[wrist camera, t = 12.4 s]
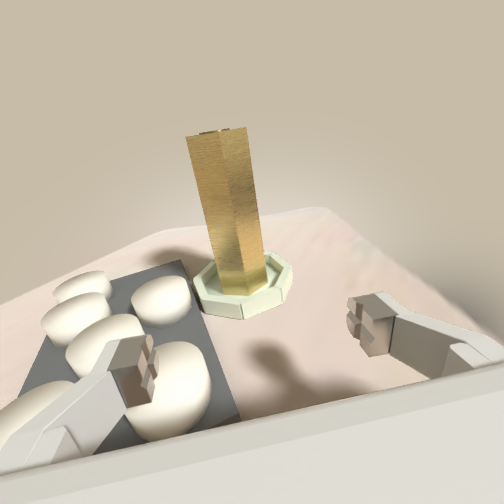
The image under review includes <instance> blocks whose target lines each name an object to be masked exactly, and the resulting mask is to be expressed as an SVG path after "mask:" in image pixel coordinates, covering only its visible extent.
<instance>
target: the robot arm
mask: <svg viewBox="0 0 504 504" xmlns="http://www.w3.org/2000/svg"><path fill="white" fill-rule="evenodd" d="M347 307H348V308H349V309H350V311H349V313H348V314H347V326H348V329H349V331H350V333H351V334H352V336H353V337H354V338H356V339H358V340H360V346H361V348H362V349H363V350H364V351H365V353H366V354H367V355H368V357H373V356H379V355H384V354H390V355H391V356H393V357H394V358H396V359H398V360H399V361H401V362H403V363H405V364H406V365H408V366H410V367H411V368H413V369H415V370H416V371H418V372H420V373H421V374H423V375H425V376H427V377H428V378H430V380H426V381H421V382H417V383H412V384H408V385H403V386H399V387H394V388H390V389H386V390H381V391H377V392H372V393H368V394H363V395H359V396H354V397H350V398H346V399H341V400H337V401H332V402H328V403H323V404H319V405H314V406H310V407H306V408H301V409H297V410H292V411H288V412H283V413H279V414H274V415H270V416H265V417H261V418H257V419H252V420H248V421H243V422H239V423H234V424H230V425H226V426H221V427H217V428H212V429H208V430H204V431H199V432H195V433H190V434H186V435H181V436H177V437H173V438H168V439H164V440H159V441H155V442H150V443H146V444H141V445H137V446H132V447H128V448H124V449H119V450H115V451H110V452H106V453H101V454H97V455H93V453H94V452H95V451H96V449H97V448H98V447H99V446H100V444H101V443H102V442H103V440H104V439H105V438H106V436H107V435H108V434H109V433H110V431H111V430H112V429H113V427H114V426H115V425H116V424H117V422H118V421H119V420H120V418H121V417H122V416H123V414H124V413H125V412H126V411H127V408H131V407H135V406H139V405H144V404H148V403H152V398H153V394H154V390H155V384H154V380H155V378H156V377H157V376H158V372H159V358H158V354H157V351H156V350H155V349H153V348H152V347H153V343H154V341H153V339H152V336H151V335H150V334H146V335H140V336H133V337H127V338H123V339H116V340H110V341H108V342H107V343H106V344H105V346H104V348H103V350H102V352H101V354H100V356H99V357H98V359H97V361H96V363H95V365H94V367H93V369H92V371H91V373H90V374H89V375H86V376H84V377H83V378H81V379H80V380H79V381H78V382H76V383H75V384H74V385H73V386H71V387H70V388H69V389H68V390H67V391H65V392H64V393H63V394H62V395H60V396H59V397H58V398H57V399H55V400H54V401H53V402H52V403H50V404H49V405H48V406H47V407H45V408H44V409H43V410H42V411H40V412H39V413H38V414H37V415H36V416H34V417H33V418H32V419H31V420H29V421H28V422H27V423H26V424H24V425H23V426H22V427H21V428H19V429H18V430H17V431H16V432H14V433H13V434H12V435H11V436H10V437H9V438H8V440H7V441H6V442H5V444H4V445H3V447H2V448H1V450H0V504H504V347H503V346H502V345H500V344H499V343H497V342H496V341H494V340H493V339H491V338H490V337H489V336H486V335H483V334H480V333H477V332H474V331H471V330H468V329H465V328H462V327H459V326H456V325H453V324H450V323H447V322H443V321H440V320H437V319H434V318H431V317H428V316H425V315H422V314H419V313H416V312H413V313H411V312H410V311H409V310H407V309H406V308H405V307H404V306H402V305H401V304H400V303H399V302H397V301H396V300H395V299H394V298H392V297H391V296H390V295H389V294H388V293H386V292H384V291H381V292H376V293H371V294H368V295H363V296H358V297H352V298H349V299H348V302H347Z"/></svg>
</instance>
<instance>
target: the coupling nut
mask: <svg viewBox="0 0 504 504" xmlns="http://www.w3.org/2000/svg"><path fill="white" fill-rule="evenodd" d="M186 141H187V145H188V150H189V153H190V158H191V162H192V166H193V170H194V175H195V179H196V183H197V187H198V191H199V196H200V200H201V204H202V208H203V212H204V216H205V220H206V225H207V229H208V233H209V237H210V241H211V245H212V250H213V254H214V258H215V262H216V266H217V270H218V275H219V279H220V283H221V287H222V291H223V295H238V296H250V295H252V294H253V293H254V292H256V291H257V290H259V289H260V288H261V287H263V286H264V285H266V284H267V283H268V279H267V272H266V265H265V257H264V250H263V243H262V236H261V229H260V222H259V214H258V208H257V200H256V193H255V186H254V179H253V171H252V164H251V157H250V150H249V143H248V136H247V129H246V127H244V128H238V129H232V130H230V129H229V128H228V129H222V130H216V131H210V132H204V133H199V135H194V136H188V137H186Z"/></svg>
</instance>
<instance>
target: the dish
mask: <svg viewBox="0 0 504 504" xmlns="http://www.w3.org/2000/svg"><path fill="white" fill-rule="evenodd" d="M264 257H265V265H266V272H267V279H268V283H267V284H266V285H264V286H263V287H261V288H260V289H259V290H257V291H256V292H254V293H253V294H252V295H250V296H238V295H223V291H222V287H221V283H220V279H219V275H218V270H217V266H216V262H215V260H213V261H211V262H210V263H209V264H208V265H207V266H206V267H205V268H204V269H203V270H202V271H201V272H199V273H198V274H197V275H196V276H195V277H194V278H193V282H194V286H195V289H196V293H197V295H198V298H199V300H200V303H201V305H202V307H203V310H204V312H206V314H211V315H217V316H223V317H228V318H234V319H240V320H242V319H243V318H244V320H245V319H247V318H250V317H252V316H254V315H257V314H259V313H262V312H264V311H267V310H269V309H272V308H274V307H277V306H279V305H282V303H284V301H285V298H286V296H287V294H288V291H289V289H290V287H291V284H292V282H293V274H292V266H291V265H290V264H288V263H287V262H286V261H285V260H283V259H282V258H281V257H280V256H278V255H277V254H276V253H273V252H264Z"/></svg>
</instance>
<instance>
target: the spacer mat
mask: <svg viewBox="0 0 504 504" xmlns="http://www.w3.org/2000/svg"><path fill="white" fill-rule="evenodd" d="M53 296H54V298H55V299H56V301H57V302H58V305H57V306H55V307H54V308H52V309H51V310H50V311H49V312H47V313H46V314H45V316H44V317H43V318H42V320H41V326H42V328H43V329H44V331H45V332H46V334H47V335H46V338H45V340H44V342H43V344H42V346H41V348H40V350H39V352H38V355H37V357H36V359H35V361H34V363H33V365H32V367H31V370H30V372H29V374H28V376H27V378H26V380H25V382H24V385H23V387H22V389H21V391H20V393H19V395H18V397H17V399H15V400H14V401H12V402H11V403H10V404H8V405H7V406H6V407H4V408H3V409H2V410H1V411H0V450H1V448H2V447H3V445H4V444H5V442H6V441H7V440H8V438H9V437H10V436H11V435H12V434H13V433H14V432H16V431H17V430H18V429H19V428H21V427H22V426H23V425H24V424H26V423H27V422H28V421H29V420H31V419H32V418H33V417H34V416H36V415H37V414H38V413H39V412H40V411H42V410H43V409H44V408H45V407H47V406H48V405H49V404H50V403H52V402H53V401H54V400H55V399H57V398H58V397H59V396H60V395H62V394H63V393H64V392H65V391H67V390H68V389H69V388H70V387H71V386H73V385H74V384H75V383H76V382H78V381H79V380H80V379H81V378H83V377H84V376H86V375H89V374H90V373H91V371H92V369H93V367H94V365H95V363H96V361H97V359H98V357H99V356H100V354H101V352H102V350H103V348H104V346H105V344H106V343H107V342H108V341H110V340H116V339H123V338H127V337H133V336H140V335H146V334H150V335H151V336H152V339H153V341H154V343H153V347H152V348H153V349H155V350H156V351H157V354H158V358H159V372H158V376H157V377H156V378H155V380H154V384H155V390H154V394H153V398H152V403H148V404H144V405H139V406H135V407H131V408H127V411H126V412H125V413H124V414H123V416H122V417H121V418H120V420H119V421H118V422H117V424H116V425H115V426H114V427H113V429H112V430H111V431H110V433H109V434H108V435H107V436H106V438H105V439H104V440H103V442H102V443H101V444H100V446H99V447H98V448H97V449H96V451H95V452H94V453H93V455H97V454H101V453H106V452H110V451H115V450H119V449H124V448H128V447H132V446H137V445H141V444H146V443H150V442H155V441H159V440H164V439H168V438H173V437H177V436H181V435H186V434H190V433H195V432H199V431H204V430H208V429H212V428H217V427H221V426H226V425H230V424H234V423H239V422H241V419H240V416H239V412H238V410H237V407H236V404H235V402H234V399H233V397H232V394H231V391H230V389H229V386H228V383H227V381H226V378H225V375H224V373H223V370H222V368H221V365H220V362H219V360H218V357H217V354H216V352H215V349H214V347H213V344H212V341H211V339H210V336H209V333H208V331H207V328H206V325H205V323H204V320H203V318H202V315H201V312H200V310H199V307H198V304H197V302H196V299H195V297H194V294H193V291H192V289H191V286H190V283H189V281H188V278H187V275H186V273H185V270H184V268H183V265H182V262H181V260H177V261H174V262H170V263H167V264H164V265H160V266H157V267H154V268H151V269H147V270H144V271H141V272H138V273H134V274H131V275H128V276H124V277H121V278H118V279H115V280H111V281H109V279H108V277H107V275H106V273H105V272H103V271H92V272H87V273H84V274H80V275H78V276H75V277H73V278H71V279H69V280H67V281H65V282H64V283H62V284H61V285H59V286H58V287H57V288H56V289H55V290H54V292H53Z"/></svg>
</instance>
